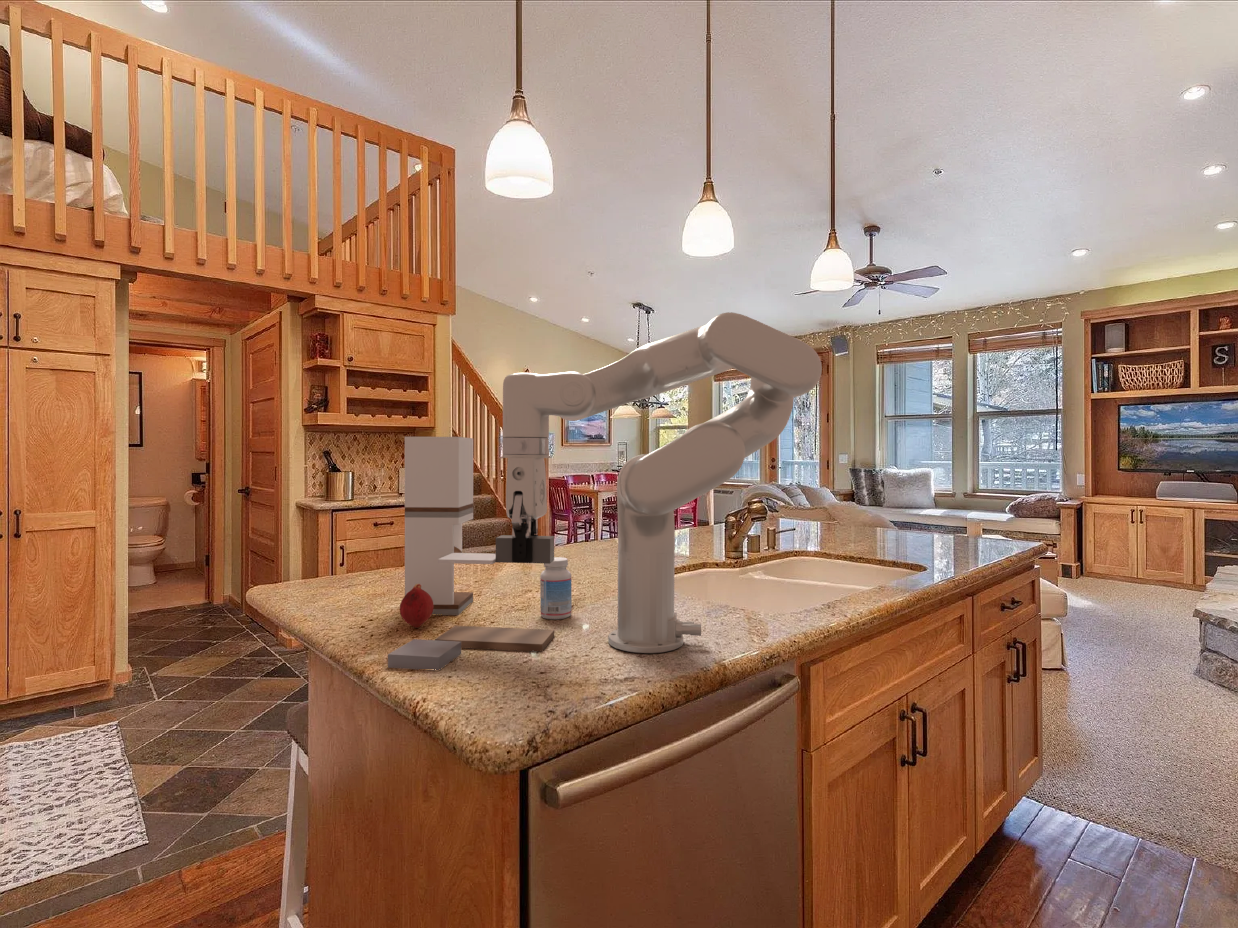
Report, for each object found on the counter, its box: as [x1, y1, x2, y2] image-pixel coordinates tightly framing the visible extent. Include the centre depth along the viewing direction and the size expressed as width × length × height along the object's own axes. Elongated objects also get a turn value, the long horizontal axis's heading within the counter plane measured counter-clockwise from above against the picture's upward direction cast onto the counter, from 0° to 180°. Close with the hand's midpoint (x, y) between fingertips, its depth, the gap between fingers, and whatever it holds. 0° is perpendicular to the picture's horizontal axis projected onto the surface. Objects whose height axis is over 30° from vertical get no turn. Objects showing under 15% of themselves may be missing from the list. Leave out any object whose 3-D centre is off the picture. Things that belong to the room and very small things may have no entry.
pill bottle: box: [539, 556, 573, 620], centre depth 124 cm, size 6×6×11 cm
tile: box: [387, 638, 462, 671], centre depth 97 cm, size 8×2×8 cm
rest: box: [434, 625, 555, 653], centre depth 107 cm, size 18×8×1 cm, turn 82°
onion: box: [399, 583, 434, 629], centre depth 115 cm, size 6×6×8 cm
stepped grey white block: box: [438, 534, 555, 565], centre depth 105 cm, size 18×7×4 cm, turn 85°
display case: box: [404, 436, 474, 616], centre depth 130 cm, size 11×11×35 cm
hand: (525, 559), depth 104 cm, fingers closed on stepped grey white block, 3 cm apart
